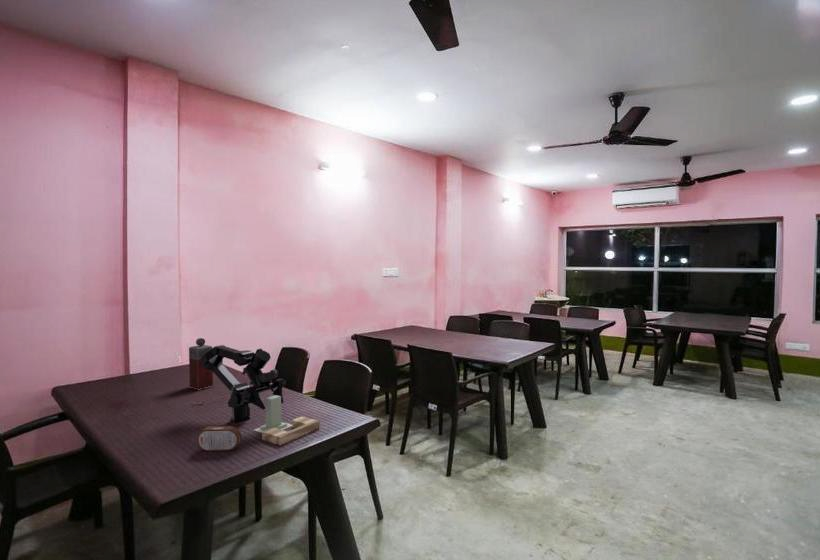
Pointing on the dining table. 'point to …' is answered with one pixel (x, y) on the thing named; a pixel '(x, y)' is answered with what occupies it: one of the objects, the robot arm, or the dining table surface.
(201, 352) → the glass decanter
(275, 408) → the mint green pillar
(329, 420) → the dining table surface
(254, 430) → the mat
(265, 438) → the stand
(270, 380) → the robot arm
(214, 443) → the tin
